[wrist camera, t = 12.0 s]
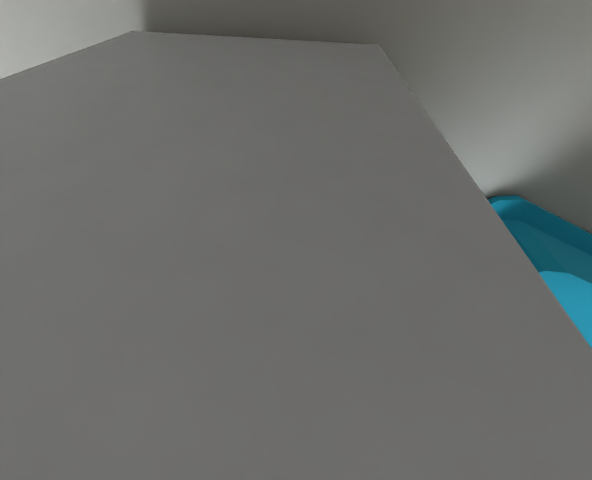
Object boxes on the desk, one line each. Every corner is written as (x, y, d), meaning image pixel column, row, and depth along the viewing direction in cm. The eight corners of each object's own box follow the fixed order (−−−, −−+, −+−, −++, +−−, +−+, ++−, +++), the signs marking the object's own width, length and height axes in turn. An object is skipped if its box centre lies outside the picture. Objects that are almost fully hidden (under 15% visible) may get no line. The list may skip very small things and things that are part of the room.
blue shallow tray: (340, 395, 15) (338, 344, 17) (618, 481, 19) (585, 429, 21) (541, 229, 8) (493, 183, 11) (911, 413, 12) (814, 348, 14)
